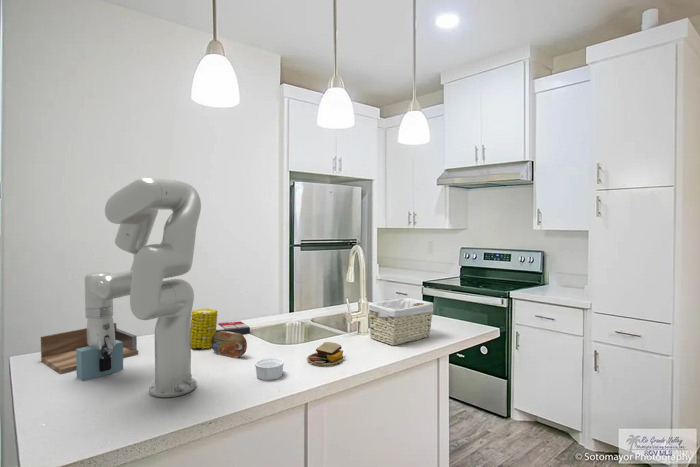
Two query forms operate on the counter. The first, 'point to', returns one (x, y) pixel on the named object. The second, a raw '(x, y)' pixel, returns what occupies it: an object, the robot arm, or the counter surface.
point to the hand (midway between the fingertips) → (100, 367)
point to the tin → (229, 344)
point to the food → (203, 327)
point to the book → (97, 361)
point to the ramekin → (269, 368)
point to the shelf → (62, 348)
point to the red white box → (233, 327)
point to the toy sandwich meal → (326, 354)
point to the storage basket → (400, 320)
